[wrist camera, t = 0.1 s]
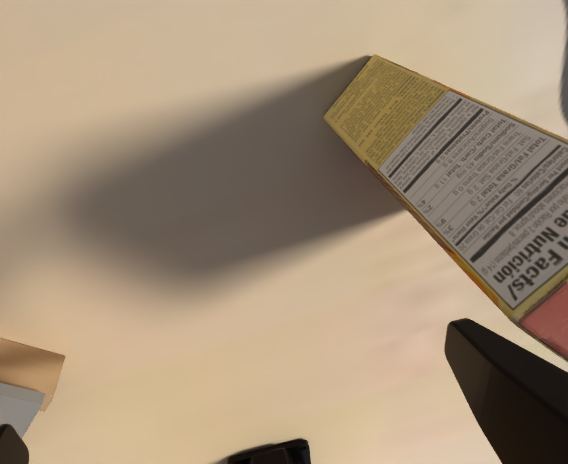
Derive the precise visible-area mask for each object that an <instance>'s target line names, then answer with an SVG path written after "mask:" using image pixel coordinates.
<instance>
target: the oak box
mask: <svg viewBox="0 0 568 464" xmlns="http://www.w3.org/2000/svg"><path fill="white" fill-rule="evenodd" d="M64 359H65V356H63V355H60V354H56V353H52V352H49V351H45V350H41V349H38V348H34V347H31V346H27V345H23V344H20V343H16V342H12V341H9V340H5V339H1V338H0V383H3V384H7V385H12V386H16V387H20V388H24V389H29V390H33V391H37V392H41V393H45V397H44V400H43V403H42V405H41V407H40V409H39V410H40V411H45V410H46V408H47V407H48V405H49V403H50V402H51V400H52V398H53V396H54V392H55V389H56V386H57V382H58V379H59V376H60V372H61V369H62V366H63V362H64Z"/></svg>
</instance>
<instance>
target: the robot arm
mask: <svg viewBox="0 0 568 464" xmlns="http://www.w3.org/2000/svg"><path fill="white" fill-rule="evenodd" d="M445 355H446V358H447V361H448V363H449V365H450V367H451V369H452V371H453V373H454V375H455V377H456V379H457V381H458V383H459V385H460V388H461V390H462V392H463V394H464V396H465V398H466V400H467V402H468V404H469V406H470V408H471V410H472V412H473V414H474V416H475V418H476V420H477V422H478V424H479V426H480V428H481V429H482V431H483V433H484V434H485V436H486V438H487V439H488V441H489V442H490V444H491V446H492V447H493V449H494V451H495V452H496V454H497V455H498V457H499V459H500V460H501V462H502V464H568V372H566V371H564V370H562V369H560V368H559V367H557V366H555V365H553V364H551V363H549V362H548V361H546V360H544V359H542V358H540V357H538V356H537V355H535V354H533V353H531V352H529V351H527V350H526V349H524V348H522V347H520V346H518V345H516V344H515V343H513V342H511V341H509V340H507V339H505V338H504V337H502V336H500V335H498V334H496V333H495V332H493V331H491V330H489V329H487V328H485V327H484V326H482V325H480V324H478V323H476V322H474V321H473V320H470V319H467V318H464V319H459V320H455V321H451V322H450V323H449V324H448V326H447V333H446V340H445ZM227 463H228V464H311V460H310V450H309V445H308V441H307V440H299V441H295V442H291V443H287V444H284V445H280V446H276V447H272V448H268V449H264V450H260V451H256V452H252V453H248V454H244V455H240V456H236V457H232V458H230V459H229V460H228V462H227ZM0 464H29V452H28V448H27V446H26V445H25V443H24V442H23V440H22V439H21V438H20V436H19V435H18V433H17V432H16V430H15V429H14V427H13V426H12V425H10V424H1V425H0Z"/></svg>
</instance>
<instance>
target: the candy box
mask: <svg viewBox="0 0 568 464" xmlns="http://www.w3.org/2000/svg"><path fill="white" fill-rule="evenodd" d="M323 119H324V120H325V121H326V122H327V123H328V124H329V125H330V126H331V127H332V129H333V130H334V131H335V132H336V133H337V134H338V135H339V136H340V137H341V138H342V139H343V140H344V142H345V143H346V144H347V145H348V146H349V147H350V148H351V149H352V150H353V152H354V153H355V154H356V155H357V156H358V157H359V158H360V159H361V161H362V162H363V163H364V164H365V165H366V166H367V167H368V168H369V169H370V170H371V172H372V173H373V174H374V175H375V176H376V177H377V178H378V179H379V180H380V181H381V182H382V184H383V185H384V186H385V187H386V188H387V189H388V190H389V191H390V192H391V193H392V194H393V195H394V196H395V197H396V199H397V200H398V201H399V202H400V203H401V204H402V205H403V206H404V207H405V208H406V209H407V210H408V211H409V212H410V213H411V214H412V216H413V217H414V218H415V219H416V220H417V221H418V222H419V223H420V224H421V225H422V226H423V228H424V229H425V230H426V231H427V232H428V233H429V234H430V235H431V236H432V237H433V239H434V240H435V241H436V242H437V243H438V244H439V245H440V246H441V247H442V248H443V249H444V250H445V252H446V253H447V254H448V255H449V256H450V257H451V258H452V259H453V260H454V261H455V262H456V263H457V264H458V266H459V267H460V268H461V269H462V270H463V271H464V272H465V273H466V274H467V275H468V276H469V278H470V279H471V280H472V281H473V282H474V283H475V284H476V285H477V286H478V287H479V288H480V289H481V290H482V291H483V292H484V293H485V294H486V295H487V296H488V297H489V298H490V299H491V301H492V302H493V303H494V304H495V305H496V306H497V307H498V308H499V309H500V310H501V311H502V312H503V313H504V314H505V315H506V316H507V318H508V319H509V320H510V321H511V322H512V323H514V324H515V325H516V326H517V327H519V328H520V329H521V330H523V331H524V332H525V333H527V334H528V335H530V336H531V337H532V338H534V339H535V340H537V341H538V342H539V343H541V344H542V345H544V346H545V347H546V348H548V349H549V350H550V351H552V352H553V353H555V354H556V355H558V356H559V357H561V358H562V359H563V360H565V361H566V362H568V140H567V139H565V138H563V137H561V136H558V135H556V134H554V133H552V132H549V131H547V130H545V129H543V128H540V127H538V126H536V125H534V124H531V123H529V122H527V121H525V120H522V119H520V118H518V117H516V116H514V115H511V114H509V113H507V112H505V111H502V110H500V109H498V108H496V107H493V106H491V105H489V104H487V103H484V102H482V101H479V100H477V99H474V98H472V97H470V96H468V95H465V94H463V93H461V92H459V91H456V90H454V89H452V88H449V87H447V86H445V85H443V84H441V83H439V82H437V81H435V80H432V79H430V78H428V77H425V76H423V75H421V74H419V73H417V72H414V71H412V70H409V69H407V68H405V67H403V66H400V65H398V64H395V63H393V62H391V61H389V60H387V59H384V58H382V57H380V56H378V55H373V56H372V57H371V59H370V60H369V61H368V63H367V64H366V65H365V66H364V67H363V69H362V70H361V71H360V72H359V74H358V75H357V76H356V77H355V78H354V80H353V81H352V82H351V83H350V85H349V86H348V87H347V88H346V90H345V91H344V92H343V93H342V94H341V96H340V97H339V98H338V99H337V100H336V102H335V103H334V104H333V105H332V106H331V108H330V109H329V110H328V111H327V113H326V114H325V115H324V116H323Z"/></svg>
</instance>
